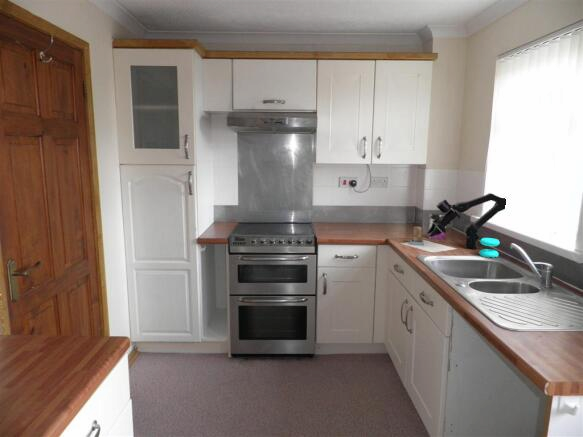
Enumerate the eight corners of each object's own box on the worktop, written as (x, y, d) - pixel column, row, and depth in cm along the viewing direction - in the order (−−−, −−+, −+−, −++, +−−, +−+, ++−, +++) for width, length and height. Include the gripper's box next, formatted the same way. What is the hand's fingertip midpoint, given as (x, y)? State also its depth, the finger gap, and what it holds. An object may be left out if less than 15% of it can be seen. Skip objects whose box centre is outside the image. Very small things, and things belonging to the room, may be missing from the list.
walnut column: (419, 243, 257) (420, 226, 255) (420, 244, 253) (421, 228, 251) (412, 243, 258) (413, 226, 256) (413, 244, 254) (414, 227, 252)
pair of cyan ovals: (490, 241, 222) (476, 238, 231) (489, 259, 223) (475, 254, 233) (503, 240, 225) (489, 237, 235) (502, 257, 227) (488, 253, 236)
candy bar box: (428, 239, 276) (429, 215, 273) (427, 237, 280) (429, 214, 278) (445, 240, 273) (447, 216, 270) (444, 238, 277) (446, 215, 275)
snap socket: (422, 243, 258) (422, 240, 258) (423, 245, 251) (424, 242, 250) (409, 242, 260) (409, 239, 259) (411, 245, 252) (411, 242, 252)
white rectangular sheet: (423, 241, 267) (424, 240, 267) (457, 250, 243) (457, 248, 243) (400, 244, 257) (400, 243, 257) (432, 254, 234) (432, 252, 234)
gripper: (436, 207, 258) (418, 223, 262) (441, 211, 240) (421, 228, 244) (448, 219, 258) (429, 235, 262) (454, 224, 240) (434, 241, 244)
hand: (428, 234), depth 253 cm, fingers open, 9 cm apart
